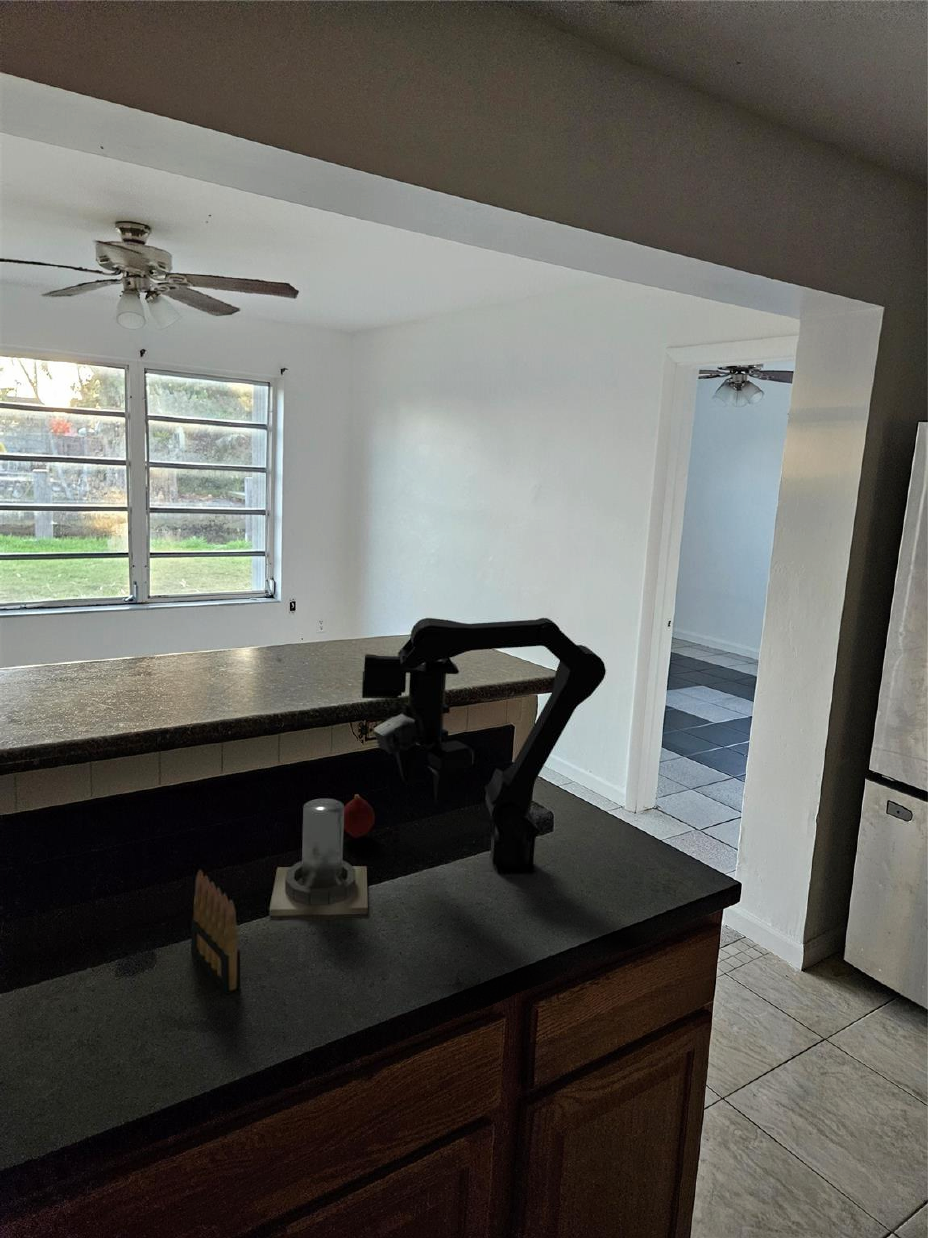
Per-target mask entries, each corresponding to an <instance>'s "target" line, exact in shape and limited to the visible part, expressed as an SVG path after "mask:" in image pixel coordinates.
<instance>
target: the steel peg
mask: <svg viewBox="0 0 928 1238" xmlns="http://www.w3.org/2000/svg"><path fill="white" fill-rule="evenodd" d="M302 807H303V808H302V809H303V812H302V849H301V850H302V854H301V861H302V886H305V887H308V888H312V889H327V888H331V887H334V886H337V885H340V884H341V883H342V861H343V857H344V856H343V854H344V853H343V852H344V807H345V805H344V803H342V802H341V801H339V800H337V799H334V798H317V799H312V800H308V801H307V802H306V803H305V804H303V806H302Z"/></svg>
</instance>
